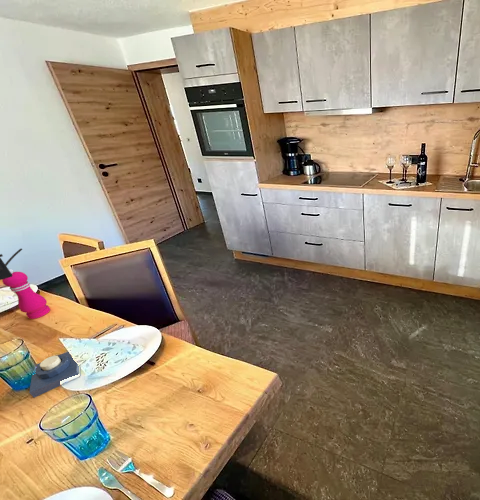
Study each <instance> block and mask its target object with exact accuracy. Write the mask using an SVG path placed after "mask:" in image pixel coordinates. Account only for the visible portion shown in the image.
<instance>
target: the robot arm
mask: <svg viewBox="0 0 480 500" xmlns="http://www.w3.org/2000/svg"><path fill="white" fill-rule="evenodd" d="M22 250H23V248H19V249H18V250H17V251H16V252H15V253H13V254H12V256H10V258H9V259H8V260H7V261H6V262H4V261H3V259H2V257H4V255H3V254H2V253H0V281H2V279H5V278H9V277H12V274H11V272H10V271H9V269H10V268H8V265H9V264H10V263H11V261H12V260H13V259H14V258H15V257H16V256H17V255H18V254H20V252H21V251H22Z"/></svg>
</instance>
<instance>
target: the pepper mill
mask: <svg viewBox="0 0 480 500" xmlns="http://www.w3.org/2000/svg"><path fill="white" fill-rule="evenodd" d="M8 269H9V271H10V272H11V274H12V277H9V278H5V279H2V280H1V281H2V283H3V285H4V286H5V287H8V288H9V290H10V291H11V292H13V293H15V295H16V296H17V303H18V304H17V307H18V309H19V311H20V312H22V313H25V316H26V317H27V318H28V319H30V320H34V319H38V318H41V317H44V316H46V315H47V314H49V312H51V308H50V306H49V305H47V301H48V300H47V299H46V297H44V296H43V295H41V294H39V293H38V292H35V291H34V290H33V289H32V287H31V283H30V281H28V280H29V278H28V275H27V274H26V273H25V272H22V271H14V270H13V269H12V268H8Z"/></svg>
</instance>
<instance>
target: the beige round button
mask: <svg viewBox="0 0 480 500" xmlns="http://www.w3.org/2000/svg"><path fill="white" fill-rule="evenodd" d="M39 363H40V367H41V368H42V369H43V370H44V371H48V370H51V369H53V368H55V367H56V366H58V365H59V364H60V363H61V360H60V358H59V357H58V355H51V356H48V357H47V358H45V359H43V360H42V361H41V362H39Z"/></svg>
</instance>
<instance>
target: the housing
mask: <svg viewBox="0 0 480 500" xmlns="http://www.w3.org/2000/svg"><path fill="white" fill-rule="evenodd" d="M57 356H58V357H59V358H60V360H61V363H60V364H59V365H58V366H56V367H55V368H53V369H51V370H48V371H44V370H43V369H42V368H41V367H40V363H41V362H39V363H36V364H35V365H37V368H36V372H35V373H36V374H34V375H32V374H31V380H30V385H29V392H28V394H30V395H31V396H32V398H37V397H38V396H41V395H43V394H45V393H47V392H50V391H52V390H54V389H57V388H58V387H61V386H60V381H62V380H64V379H67V378H69V377H72V376H75V375H78V374H79V366H78V364H77V363H76V362H75V361H74V360H73V358H72V357H71V355H70V354H69V352H68V351H66V352H63V353H61V354H58V355H57Z"/></svg>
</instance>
